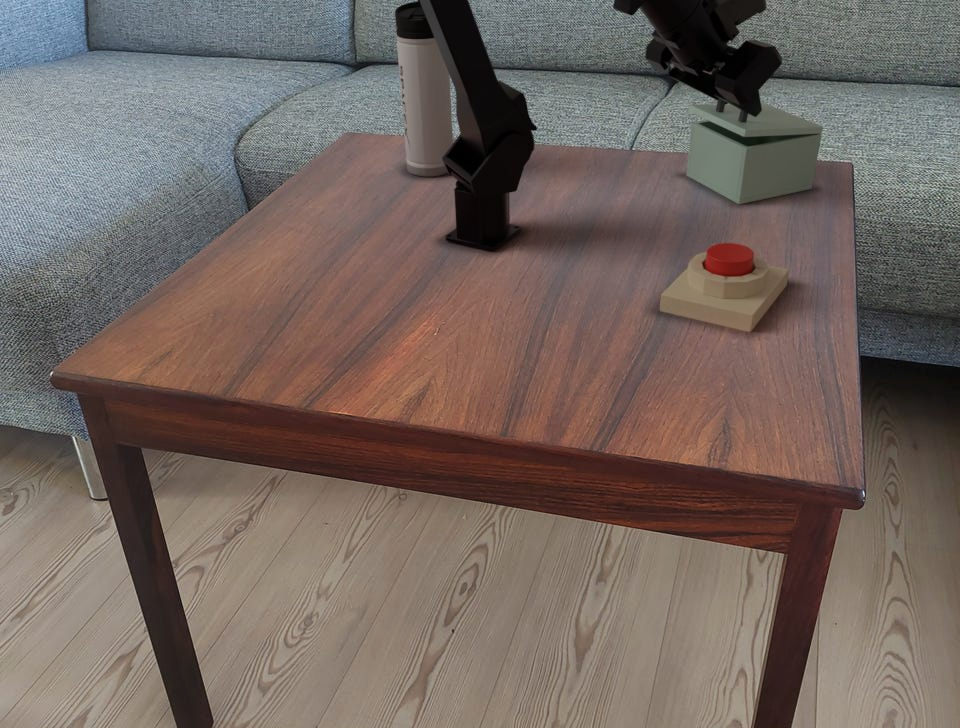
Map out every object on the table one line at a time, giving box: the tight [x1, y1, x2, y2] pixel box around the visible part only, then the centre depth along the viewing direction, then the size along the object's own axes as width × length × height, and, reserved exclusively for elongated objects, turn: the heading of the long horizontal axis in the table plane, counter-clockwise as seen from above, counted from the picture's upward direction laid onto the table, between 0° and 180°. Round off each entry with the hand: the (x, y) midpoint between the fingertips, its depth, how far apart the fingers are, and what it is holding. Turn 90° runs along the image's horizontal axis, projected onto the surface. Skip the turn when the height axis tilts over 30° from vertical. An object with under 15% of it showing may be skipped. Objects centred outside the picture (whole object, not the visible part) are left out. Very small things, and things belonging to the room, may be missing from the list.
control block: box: [659, 251, 790, 333], centre depth 90 cm, size 11×9×4 cm
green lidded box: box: [685, 119, 823, 205], centre depth 114 cm, size 11×11×7 cm
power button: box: [705, 242, 755, 277], centre depth 89 cm, size 4×4×2 cm
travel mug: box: [394, 0, 454, 178], centre depth 118 cm, size 6×7×20 cm
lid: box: [688, 98, 824, 137], centre depth 110 cm, size 11×11×5 cm
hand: (743, 107), depth 110 cm, fingers closed on lid, 5 cm apart
